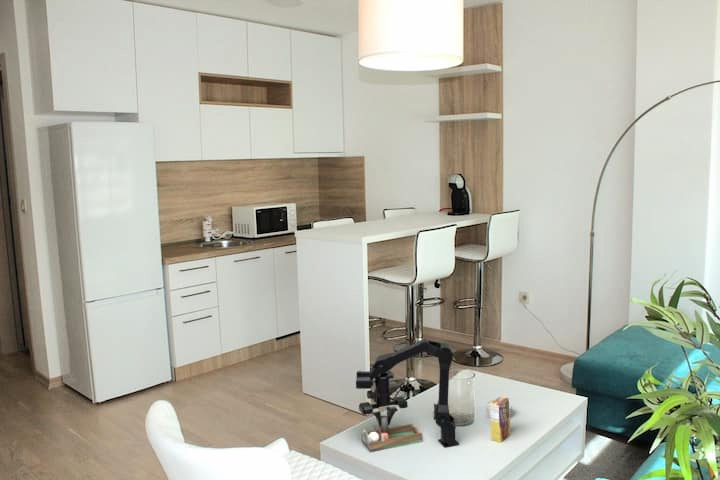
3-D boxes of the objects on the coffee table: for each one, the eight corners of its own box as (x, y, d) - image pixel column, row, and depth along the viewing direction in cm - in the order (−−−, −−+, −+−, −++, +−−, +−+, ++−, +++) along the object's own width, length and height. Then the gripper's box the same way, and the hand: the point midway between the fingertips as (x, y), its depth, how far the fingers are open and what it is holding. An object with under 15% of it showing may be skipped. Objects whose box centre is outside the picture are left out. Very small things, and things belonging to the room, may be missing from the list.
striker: (391, 443, 238) (390, 419, 237) (384, 444, 237) (383, 421, 236) (385, 435, 245) (384, 413, 244) (378, 437, 244) (377, 414, 243)
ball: (368, 443, 237) (377, 446, 238) (373, 433, 237) (382, 436, 238) (364, 438, 241) (374, 442, 242) (369, 428, 241) (378, 431, 242)
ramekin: (508, 410, 267) (508, 399, 266) (515, 421, 256) (515, 409, 255) (483, 412, 267) (482, 400, 266) (489, 422, 256) (488, 410, 255)
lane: (422, 441, 241) (421, 427, 240) (370, 452, 234) (369, 437, 233) (412, 431, 250) (412, 417, 249) (362, 441, 243) (361, 427, 243)
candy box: (500, 432, 246) (500, 396, 244) (510, 434, 243) (509, 398, 241) (490, 440, 239) (489, 403, 237) (500, 443, 237) (499, 405, 235)
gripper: (397, 378, 249) (398, 414, 251) (353, 385, 243) (355, 422, 245) (407, 387, 238) (408, 425, 240) (362, 394, 233) (364, 433, 235)
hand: (384, 425), depth 240 cm, fingers closed on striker, 3 cm apart
